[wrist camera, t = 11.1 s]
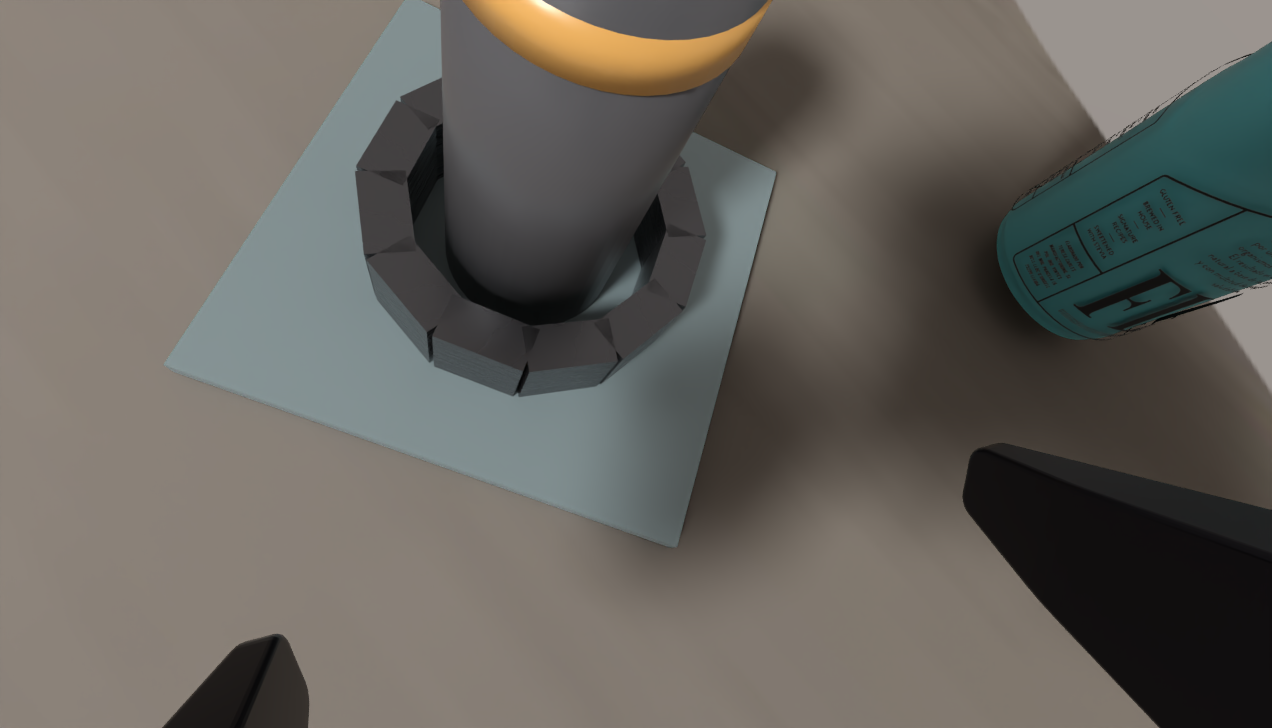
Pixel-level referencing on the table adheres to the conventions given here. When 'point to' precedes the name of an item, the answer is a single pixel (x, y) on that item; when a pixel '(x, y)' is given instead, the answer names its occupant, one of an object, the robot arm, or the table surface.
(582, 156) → the gray canister
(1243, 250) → the beverage bottle
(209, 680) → the robot arm
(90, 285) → the table surface
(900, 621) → the table surface
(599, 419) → the blue-gray square plate
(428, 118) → the barrel ring
